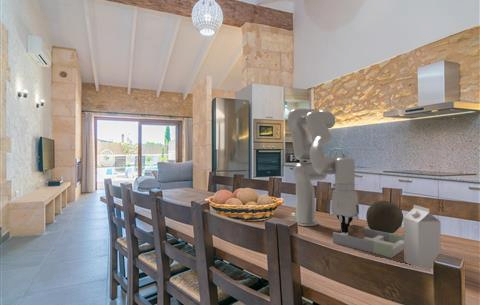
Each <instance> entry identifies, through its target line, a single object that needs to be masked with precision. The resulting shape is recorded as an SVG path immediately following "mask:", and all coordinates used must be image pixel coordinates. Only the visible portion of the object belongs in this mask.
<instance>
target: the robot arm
mask: <svg viewBox="0 0 480 305" xmlns="http://www.w3.org/2000/svg"><path fill="white" fill-rule="evenodd" d="M335 123H336V117H335V115H334V113H332V111H328V110H327V111H326V110H323V109H317V108H315V109H313V108H301V107H300V108H299V107H298V108H294V109H291V110H290V111H289V112H288V116H287V127H288V130H289V132H290V135H291V139H292V140H291V141H292V149H293V155H294V157H295V160H298V161H304V162H299V163H297V164H295V166H294V168H293V176H294V180H295V212H291V214H290V217H291V218H293V220H292V222H293V221H297V222H298V225H297V226H300V227H301V226H302V227H315V226H318V225H319V221H318V220H316V211H315V210H316V199H315V198H316V195H315V194H316V191H315V187H314V185H313V184H312V182H313V181H323V180H325V179H326V178H327V176H328V175H334V178H335V179H334V183H333V184H332V187H333V188H334V189H333V191H332V195H331V205H330V210H331V211H330V212H331V213H332V216H333V217H336V218H337V219H338V220H339V223H340V229H341V233H342V232H343V233H347V232H348V226H350V225H351V224H350V223H351V222H352V221H357V220H359V214H360V207H359V198H358V193H357V191H356V186H355V185H356V184H355V181H356V178H355V175H356V173H355V172H356V171H355V169H356V167H355V164H356V163H355V160H354V158H352V157H341V156H326V153H325V148H324V147H323V145H326V144H327V143H329V142H330V141H331V139H332V134H331V132H330V129H331V128H333V127H334V126H335V125H336V124H335ZM303 126H307V129H308V131H309V135H310V136H311V140H312V142H310V140H309V135H308V132H307V130H306V129H305V128H304V127H303ZM305 161H308V162H305ZM309 161H310V162H309Z"/></svg>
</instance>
